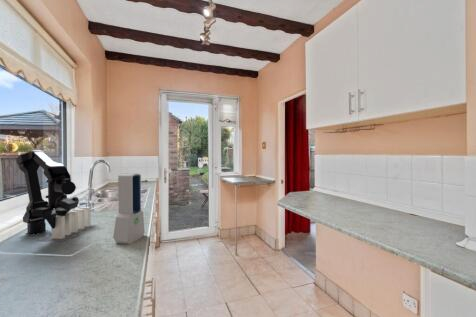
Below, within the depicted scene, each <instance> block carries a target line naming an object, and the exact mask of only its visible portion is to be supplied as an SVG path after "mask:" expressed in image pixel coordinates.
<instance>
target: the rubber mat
mask: <svg viewBox="0 0 476 317" xmlns="http://www.w3.org/2000/svg"><path fill="white" fill-rule="evenodd" d="M98 226H99V225H98V224H97V225H96V224H91V226H89V227H85V229H78V232H71V234H70V235H65V238H63V239H52V234H51V235H48V236H45V237H43V238H40V239H38V240H36V242H48V243H49V242H50V243H51V242H52V243H56V242H57V243H62V242H64V241H66V240H69V239H71V238H73V237H75V236H78V235H80V234H83V233H85V232H87V231H89V230H91V229H93V228H94V229H95V227H98Z"/></svg>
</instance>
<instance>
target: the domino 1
mask: <svg viewBox="0 0 476 317" xmlns="http://www.w3.org/2000/svg"><path fill="white" fill-rule="evenodd" d="M51 235H52V239H63V238H65V216H56V222H55V228H52V227H51Z"/></svg>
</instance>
